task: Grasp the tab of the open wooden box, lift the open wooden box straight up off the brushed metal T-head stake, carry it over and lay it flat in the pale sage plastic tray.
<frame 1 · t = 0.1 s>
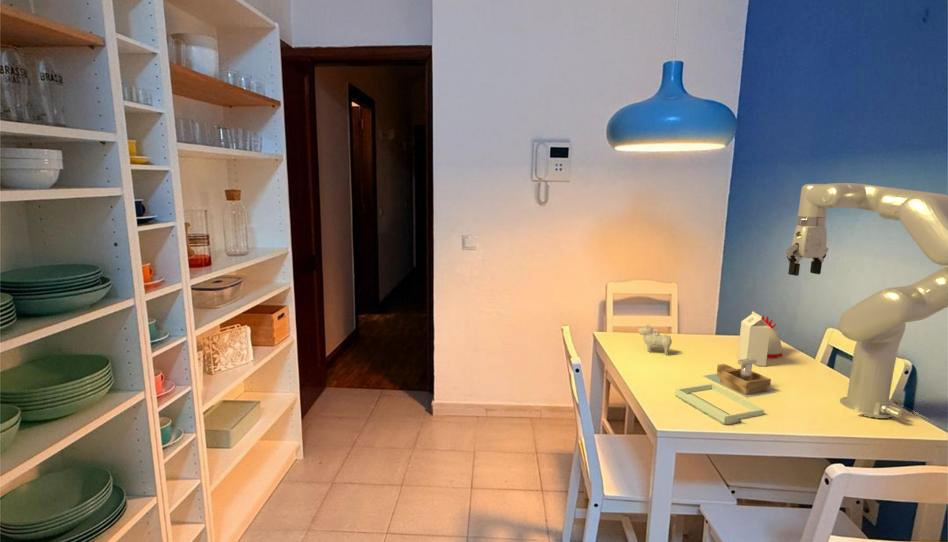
hand: (804, 274, 160), 37 cm above the table, tool pointing down, fingers open, 9 cm apart
open wooden box: (738, 378, 159), on the stake board, point 3 cm above the table
stake board: (737, 386, 159), on the table
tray: (717, 406, 145), on the table
milk carton: (751, 363, 181), on the table
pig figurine: (654, 352, 192), on the table
stake: (745, 373, 156), on the stake board, point 6 cm above the table
kitchen timer: (761, 352, 193), on the table
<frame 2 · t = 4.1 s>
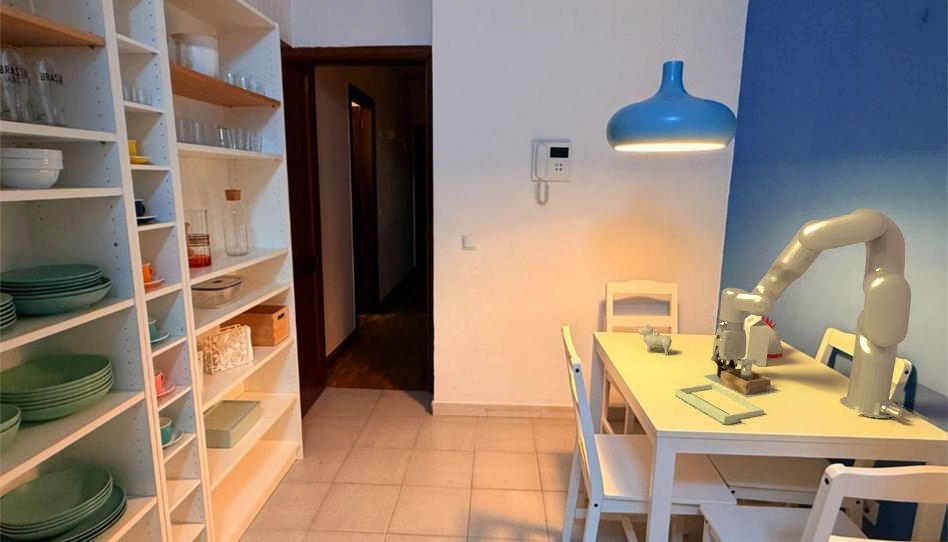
hand: (725, 376, 164), 1 cm above the table, tool pointing down, fingers closed on open wooden box, 3 cm apart
open wooden box: (738, 378, 159), on the stake board, point 3 cm above the table, touching gripper
everything else where it was.
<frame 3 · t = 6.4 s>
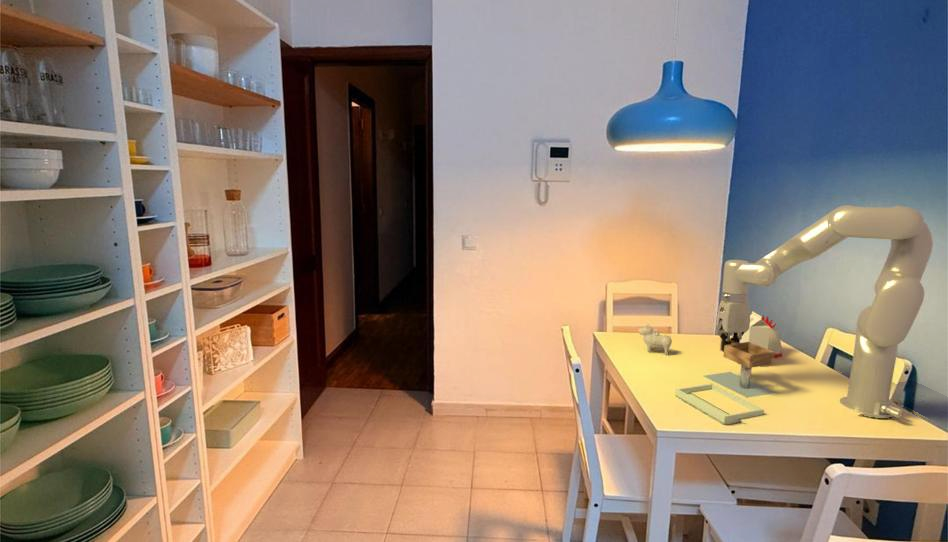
hand: (729, 350, 162), 11 cm above the table, tool pointing down, fingers closed on open wooden box, 3 cm apart
open wooden box: (742, 351, 157), point 12 cm above the table, touching gripper
everything else where it was.
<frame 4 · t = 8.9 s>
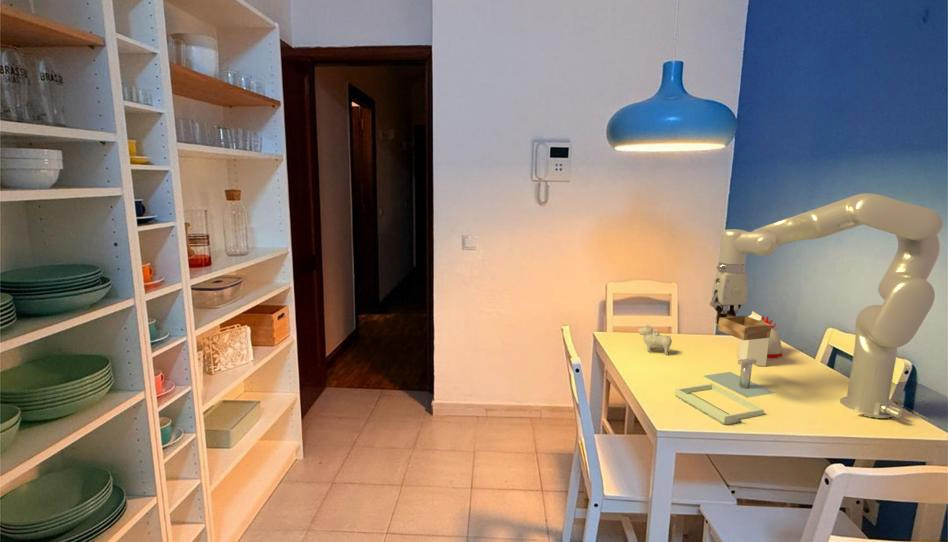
hand: (725, 324, 156), 21 cm above the table, tool pointing down, fingers closed on open wooden box, 3 cm apart
open wooden box: (737, 325, 151), point 22 cm above the table, touching gripper
everything else where it was.
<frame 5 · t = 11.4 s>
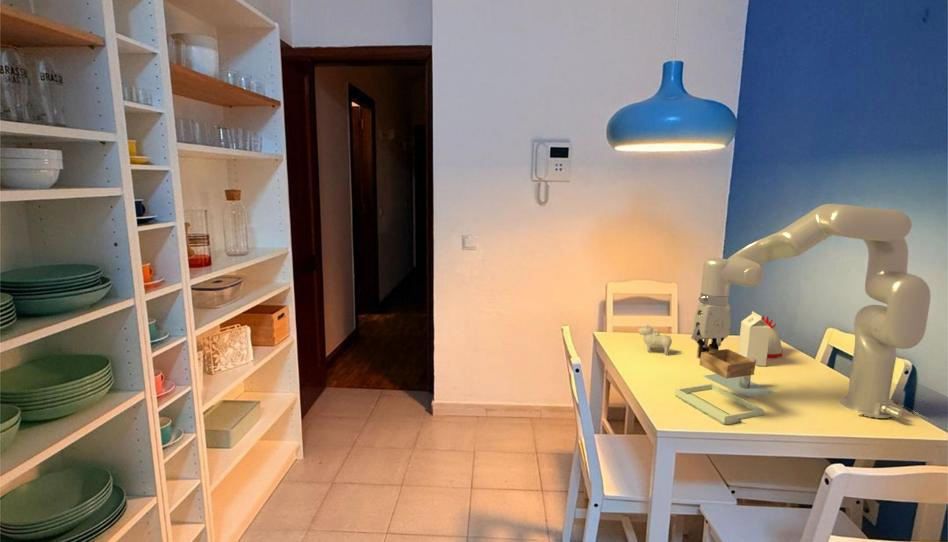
hand: (707, 357, 147), 14 cm above the table, tool pointing down, fingers closed on open wooden box, 3 cm apart
open wooden box: (720, 360, 143), point 15 cm above the table, touching gripper
everything else where it was.
when the fingers open (2 cm above the table, at t = 13.6 s): open wooden box stays where it is, resting on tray.
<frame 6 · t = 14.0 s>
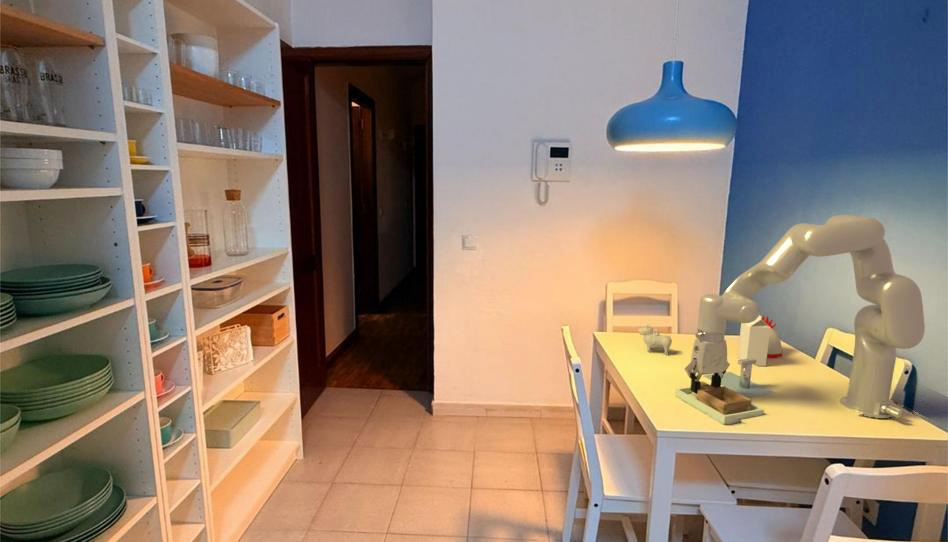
hand: (705, 390, 149), 3 cm above the table, tool pointing down, fingers open, 7 cm apart
open wooden box: (716, 397, 145), in the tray, point 3 cm above the table
everything else where it was.
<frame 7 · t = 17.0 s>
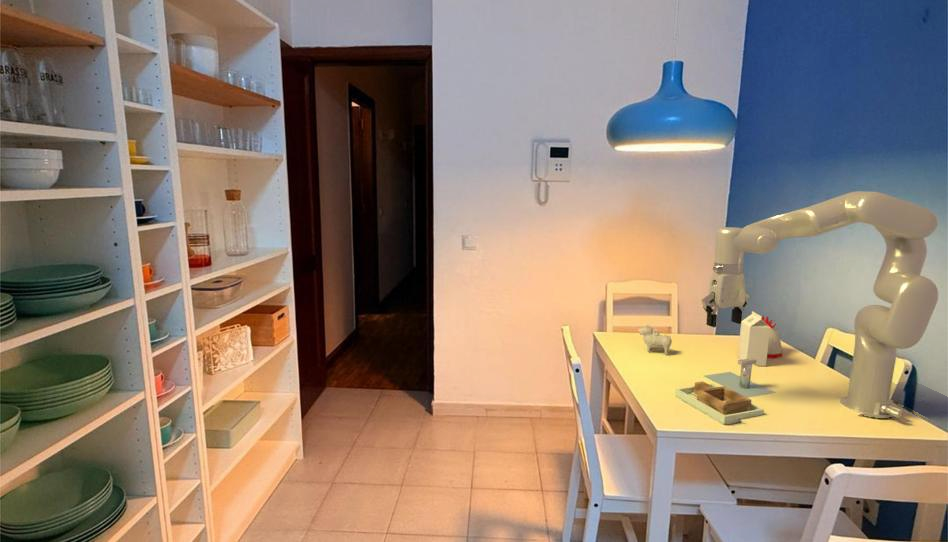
hand: (723, 324, 147), 24 cm above the table, tool pointing down, fingers open, 9 cm apart
nothing on the table moved.
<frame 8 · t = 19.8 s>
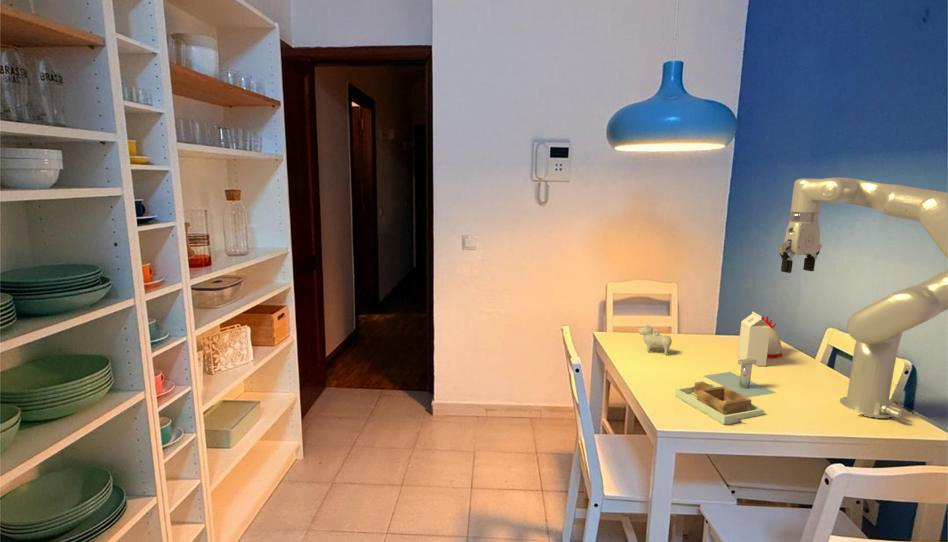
hand: (797, 271, 156), 38 cm above the table, tool pointing down, fingers open, 9 cm apart
nothing on the table moved.
at the end: open wooden box inside the target area on the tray (0.3 cm from its centre), point 2.6 cm above the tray's base; open wooden box tilted 0°; the gripper is holding nothing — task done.
